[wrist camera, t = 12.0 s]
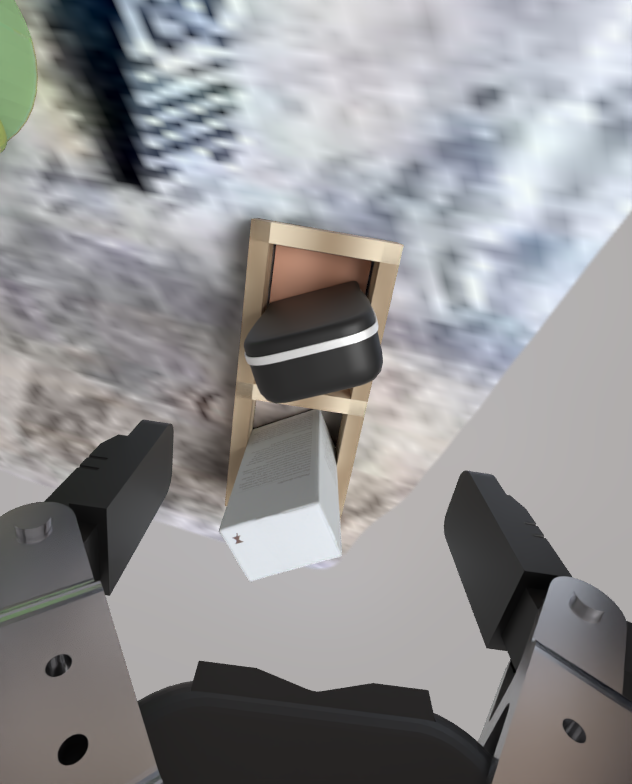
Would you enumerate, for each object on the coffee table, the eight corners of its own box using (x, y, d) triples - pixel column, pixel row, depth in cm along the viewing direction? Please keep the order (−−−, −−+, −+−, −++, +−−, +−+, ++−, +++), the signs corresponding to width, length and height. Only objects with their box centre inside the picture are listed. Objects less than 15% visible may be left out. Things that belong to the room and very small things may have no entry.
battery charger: (279, 352, 31) (256, 421, 21) (264, 302, 30) (231, 350, 19) (371, 329, 31) (395, 390, 20) (360, 277, 29) (380, 313, 19)
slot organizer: (232, 483, 36) (224, 505, 34) (258, 218, 28) (251, 218, 25) (338, 499, 37) (339, 522, 34) (396, 242, 28) (403, 245, 26)
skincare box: (271, 470, 36) (245, 584, 25) (251, 428, 34) (214, 530, 23) (339, 449, 35) (344, 559, 24) (321, 405, 33) (317, 500, 22)
